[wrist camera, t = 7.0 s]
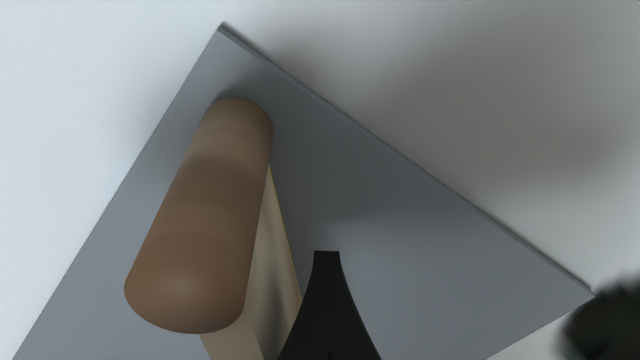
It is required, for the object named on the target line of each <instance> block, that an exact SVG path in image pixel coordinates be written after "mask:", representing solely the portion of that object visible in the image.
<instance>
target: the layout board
mask: <svg viewBox="0 0 640 360" xmlns="http://www.w3.org/2000/svg"><path fill="white" fill-rule="evenodd" d="M228 97H239V98H244V99H247V100H250V101H252V102H254V103H256V104H258V105H259V106H260V107H261V108H263V109H264V110H265V112H266V113H267V114H268V116H269V117H270V119H271V121H272V124H273V129H274V136H273V142H272V147H271V153H270V159H269V165H268V167H269V171H270V175H271V179H272V183H273V187H274V192H275V196H276V200H277V204H278V208H279V212H280V216H281V220H282V224H283V228H284V233H285V237H286V241H287V245H288V249H289V253H290V257H291V261H292V265H293V269H294V274H295V278H296V282H297V286H298V290H299V294H300V298H301V302H302V301H303V298H304V295H305V292H306V289H307V286H308V283H309V279H310V275H311V271H312V266H313V259H314V250H318V251H339V253H340V261H341V265H342V269H343V272H344V275H345V279H346V282H347V284H348V287H349V290H350V293H351V295H352V298H353V300H354V303H355V305H356V307H357V310H358V312H359V314H360V317H361V319H362V321H363V323H364V326H365V328H366V330H367V332H368V334H369V336H370V338H371V340H372V342H373V344H374V346H375V348H376V350H377V351H378V353H379V355H380V357H381V359H382V360H485V359H487V358H489V357H490V356H492V355H494V354H496V353H497V352H499V351H501V350H503V349H504V348H506V347H508V346H510V345H512V344H513V343H515V342H517V341H519V340H520V339H522V338H524V337H526V336H527V335H529V334H531V333H533V332H534V331H536V330H538V329H540V328H541V327H543V326H545V325H547V324H549V323H550V322H552V321H554V320H556V319H557V318H559V317H561V316H563V315H564V314H566V313H568V312H570V311H571V310H573V309H575V308H577V307H578V306H580V305H582V304H584V303H586V302H587V301H589V300H591V299H593V298H594V297H595V296H594V294H593V292H592V291H591V289H590V288H588V287H587V286H585V285H584V284H583V283H581V282H580V281H578V280H577V279H576V278H574V277H573V276H571V275H570V274H569V273H567V272H566V271H564V270H563V269H562V268H560V267H559V266H557V265H556V264H555V263H553V262H552V261H550V260H549V259H547V258H546V257H545V256H543V255H542V254H540V253H539V252H538V251H536V250H535V249H533V248H532V247H531V246H529V245H528V244H526V243H525V242H524V241H522V240H521V239H519V238H518V237H517V236H515V235H514V234H512V233H511V232H509V231H508V230H507V229H505V228H504V227H502V226H501V225H500V224H498V223H497V222H495V221H494V220H493V219H491V218H490V217H488V216H487V215H486V214H484V213H483V212H481V211H480V210H479V209H477V208H476V207H474V206H473V205H471V204H470V203H469V202H467V201H466V200H464V199H463V198H462V197H460V196H459V195H457V194H456V193H455V192H453V191H452V190H450V189H449V188H448V187H446V186H445V185H443V184H442V183H441V182H439V181H438V180H436V179H435V178H433V177H432V176H431V175H429V174H428V173H426V172H425V171H424V170H422V169H421V168H419V167H418V166H417V165H415V164H414V163H412V162H411V161H410V160H408V159H407V158H405V157H404V156H403V155H401V154H400V153H398V152H397V151H396V150H394V149H393V148H391V147H390V146H388V145H387V144H386V143H384V142H383V141H381V140H380V139H379V138H377V137H376V136H374V135H373V134H372V133H370V132H369V131H367V130H366V129H365V128H363V127H362V126H360V125H359V124H358V123H356V122H355V121H353V120H352V119H350V118H349V117H348V116H346V115H345V114H343V113H342V112H341V111H339V110H338V109H336V108H335V107H334V106H332V105H331V104H329V103H328V102H327V101H325V100H324V99H322V98H321V97H320V96H318V95H317V94H315V93H314V92H312V91H311V90H310V89H308V88H307V87H305V86H304V85H303V84H301V83H300V82H298V81H297V80H296V79H294V78H293V77H291V76H290V75H289V74H287V73H286V72H284V71H283V70H282V69H280V68H279V67H277V66H276V65H275V64H273V63H272V62H270V61H269V60H267V59H266V58H265V57H263V56H262V55H260V54H259V53H258V52H256V51H255V50H253V49H252V48H251V47H249V46H248V45H246V44H245V43H244V42H242V41H241V40H239V39H238V38H237V37H235V36H234V35H232V34H231V33H229V32H228V31H227V30H225V29H224V28H222V27H221V26H219V28H218V29H217V31H216V32H215V34H214V36H213V37H212V39H211V40H210V42H209V44H208V45H207V47H206V49H205V50H204V52H203V53H202V55H201V57H200V58H199V60H198V61H197V63H196V65H195V66H194V68H193V69H192V71H191V73H190V74H189V76H188V78H187V79H186V81H185V82H184V84H183V86H182V87H181V89H180V90H179V92H178V94H177V95H176V97H175V99H174V100H173V102H172V103H171V105H170V107H169V108H168V110H167V111H166V113H165V115H164V116H163V118H162V119H161V121H160V123H159V124H158V126H157V128H156V129H155V131H154V132H153V134H152V136H151V137H150V139H149V140H148V142H147V144H146V145H145V147H144V149H143V150H142V152H141V153H140V155H139V157H138V158H137V160H136V161H135V163H134V165H133V166H132V168H131V169H130V171H129V173H128V174H127V176H126V178H125V179H124V181H123V182H122V184H121V186H120V187H119V189H118V190H117V192H116V194H115V195H114V197H113V199H112V200H111V202H110V203H109V205H108V207H107V208H106V210H105V211H104V213H103V215H102V216H101V218H100V220H99V221H98V223H97V224H96V226H95V228H94V229H93V231H92V232H91V234H90V236H89V237H88V239H87V240H86V242H85V244H84V245H83V247H82V249H81V250H80V252H79V253H78V255H77V257H76V258H75V260H74V261H73V263H72V265H71V266H70V268H69V270H68V271H67V273H66V274H65V276H64V278H63V279H62V281H61V282H60V284H59V286H58V287H57V289H56V290H55V292H54V294H53V295H52V297H51V299H50V300H49V302H48V303H47V305H46V307H45V308H44V310H43V311H42V313H41V315H40V316H39V318H38V320H37V321H36V323H35V324H34V326H33V328H32V329H31V331H30V332H29V334H28V336H27V337H26V339H25V340H24V342H23V344H22V345H21V347H20V349H19V350H18V352H17V353H16V355H15V357H14V358H13V360H211V359H210V357H209V355H208V353H207V351H206V349H205V347H204V345H203V343H202V341H201V339H200V337H199V335H198V334H183V333H177V332H172V331H169V330H165V329H162V328H159V327H157V326H155V325H153V324H151V323H149V322H147V321H146V320H144V319H143V318H141V317H140V316H139V315H138V314H136V313H135V311H134V310H133V309H132V308H131V307H130V305H129V304H128V302H127V300H126V298H125V294H124V283H125V280H126V278H127V276H128V274H129V272H130V269H131V267H132V265H133V263H134V261H135V259H136V257H137V255H138V252H139V250H140V248H141V246H142V244H143V242H144V240H145V238H146V236H147V233H148V231H149V229H150V227H151V225H152V223H153V221H154V219H155V217H156V214H157V212H158V210H159V208H160V206H161V204H162V202H163V200H164V198H165V195H166V193H167V191H168V189H169V187H170V185H171V183H172V181H173V178H174V176H175V174H176V172H177V170H178V168H179V166H180V164H181V162H182V159H183V157H184V155H185V153H186V151H187V149H188V147H189V145H190V143H191V140H192V138H193V136H194V134H195V132H196V130H197V128H198V126H199V123H200V121H201V119H202V117H203V115H204V113H205V111H206V110H207V109H208V107H209V106H210V105H212V104H213V103H214V102H216V101H218V100H220V99H223V98H228Z"/></svg>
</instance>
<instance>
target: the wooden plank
mask: <svg viewBox="0 0 640 360" xmlns="http://www.w3.org/2000/svg"><path fill="white" fill-rule="evenodd" d="M273 136H274V129H273V124H272V121H271V119H270V117H269V116H268V114H267V113H266V112H265V110H264V109H263V108H261V107H260V106H259V105H258V104H256V103H254V102H252V101H250V100H247V99H244V98H239V97H228V98H223V99H220V100H218V101H216V102H214V103H213V104H212V105H210V106H209V107H208V109H207V110H206V111H205V113H204V115H203V117H202V119H201V121H200V123H199V126H198V128H197V130H196V132H195V134H194V136H193V138H192V140H191V143H190V145H189V147H188V149H187V151H186V153H185V155H184V157H183V159H182V162H181V164H180V166H179V168H178V170H177V172H176V174H175V176H174V178H173V181H172V183H171V185H170V187H169V189H168V191H167V193H166V195H165V198H164V200H163V202H162V204H161V206H160V208H159V210H158V212H157V214H156V217H155V219H154V221H153V223H152V225H151V227H150V229H149V231H148V233H147V236H146V238H145V240H144V242H143V244H142V246H141V248H140V250H139V252H138V255H137V257H136V259H135V261H134V263H133V265H132V267H131V269H130V272H129V274H128V276H127V278H126V280H125V283H124V294H125V298H126V300H127V302H128V304H129V305H130V307H131V308H132V309H133V310H134V311H135V313H136V314H138V315H139V316H140V317H141V318H143V319H144V320H146V321H147V322H149V323H151V324H153V325H155V326H157V327H159V328H162V329H165V330H169V331H172V332H177V333H183V334H198V335H199V337H200V339H201V341H202V343H203V345H204V347H205V349H206V351H207V353H208V355H209V357H210V359H211V360H277V359H278V357H279V355H280V353H281V351H282V349H283V346H284V344H285V342H286V340H287V338H288V336H289V333H290V331H291V329H292V326H293V324H294V322H295V319H296V317H297V315H298V312H299V309H300V307H301V304H302V302H301V298H300V294H299V290H298V286H297V282H296V278H295V274H294V269H293V265H292V261H291V257H290V253H289V249H288V245H287V241H286V237H285V233H284V228H283V224H282V220H281V216H280V212H279V208H278V204H277V200H276V196H275V192H274V187H273V183H272V179H271V175H270V171H269V167H268V165H269V159H270V153H271V147H272V142H273Z"/></svg>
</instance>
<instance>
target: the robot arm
mask: <svg viewBox="0 0 640 360" xmlns="http://www.w3.org/2000/svg"><path fill="white" fill-rule="evenodd" d="M277 360H382V359H381V357H380V355H379V353H378V351H377V350H376V348H375V346H374V344H373V342H372V340H371V338H370V336H369V334H368V332H367V330H366V328H365V326H364V323H363V321H362V319H361V317H360V314H359V312H358V310H357V307H356V305H355V303H354V300H353V298H352V295H351V293H350V290H349V287H348V284H347V282H346V279H345V275H344V272H343V269H342V265H341V261H340V253H339V251H318V250H314V259H313V266H312V271H311V275H310V279H309V283H308V286H307V289H306V292H305V295H304V298H303V301H302V304H301V307H300V309H299V312H298V315H297V317H296V319H295V322H294V324H293V326H292V329H291V331H290V333H289V336H288V338H287V340H286V342H285V344H284V346H283V349H282V351H281V353H280V355H279V357H278V359H277Z"/></svg>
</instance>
